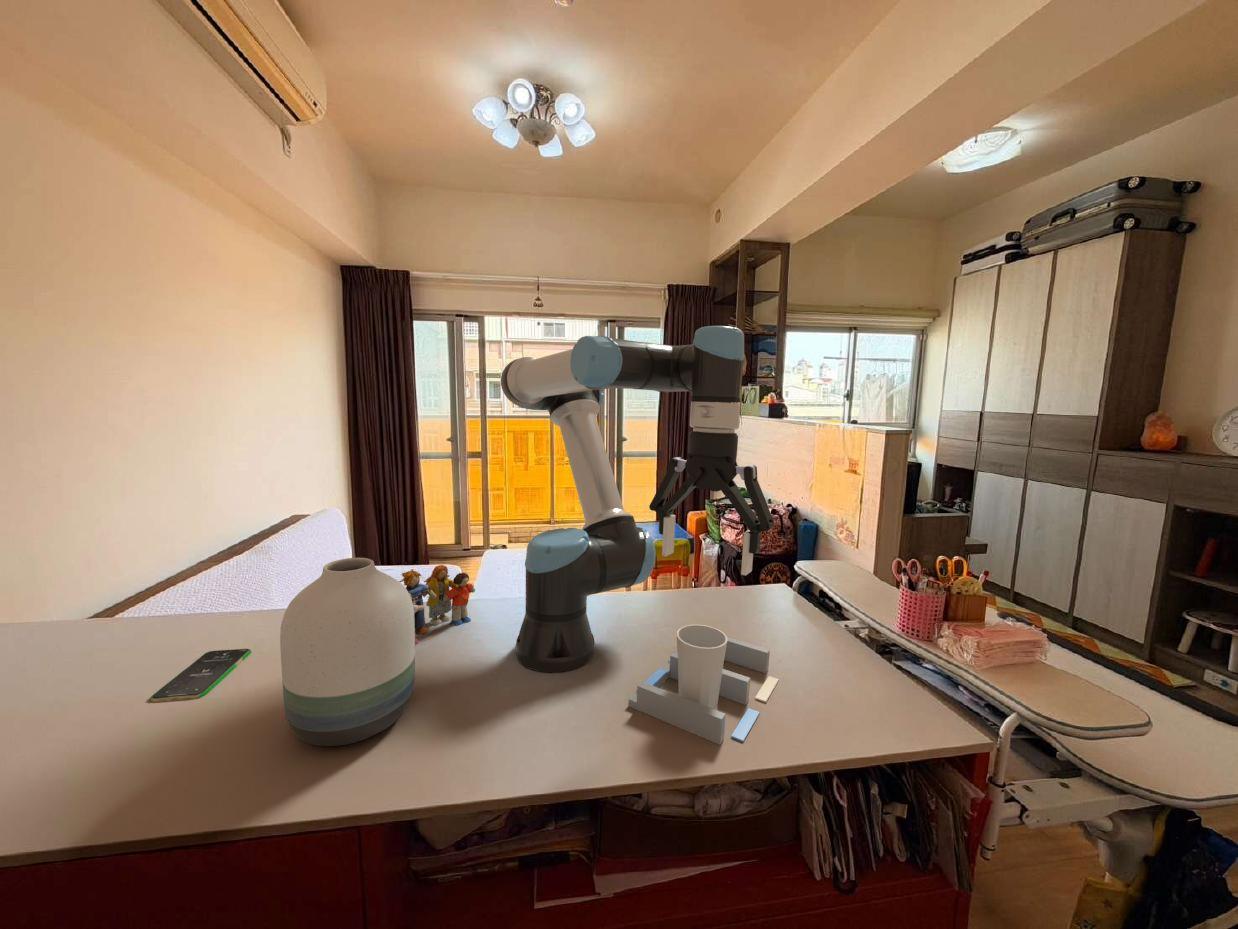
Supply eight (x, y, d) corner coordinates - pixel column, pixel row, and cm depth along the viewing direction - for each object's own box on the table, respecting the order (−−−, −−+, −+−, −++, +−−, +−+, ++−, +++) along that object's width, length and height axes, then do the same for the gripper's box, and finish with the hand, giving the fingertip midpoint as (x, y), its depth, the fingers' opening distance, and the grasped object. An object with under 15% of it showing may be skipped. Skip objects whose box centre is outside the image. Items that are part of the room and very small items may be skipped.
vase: (325, 781, 60) (317, 597, 57) (262, 729, 69) (253, 567, 66) (439, 711, 75) (437, 561, 72) (375, 676, 83) (371, 541, 80)
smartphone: (145, 699, 74) (207, 650, 89) (145, 705, 74) (207, 655, 89) (202, 694, 76) (253, 647, 90) (202, 700, 76) (253, 652, 90)
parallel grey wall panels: (628, 706, 77) (629, 682, 77) (691, 645, 98) (692, 626, 97) (737, 752, 68) (739, 726, 67) (782, 674, 88) (783, 653, 88)
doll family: (391, 657, 90) (389, 589, 88) (362, 642, 95) (360, 578, 93) (479, 617, 107) (479, 560, 106) (451, 606, 112) (450, 552, 111)
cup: (722, 726, 73) (727, 651, 72) (670, 717, 75) (674, 644, 73) (722, 695, 81) (726, 627, 80) (674, 688, 83) (678, 621, 81)
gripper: (632, 426, 78) (627, 552, 81) (789, 437, 64) (776, 589, 67) (655, 425, 84) (650, 542, 87) (803, 435, 71) (791, 574, 73)
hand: (705, 563), depth 77 cm, fingers open, 13 cm apart
